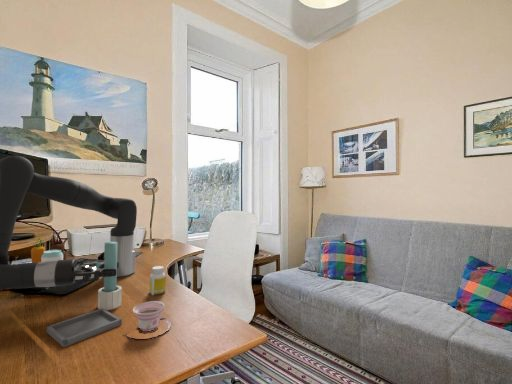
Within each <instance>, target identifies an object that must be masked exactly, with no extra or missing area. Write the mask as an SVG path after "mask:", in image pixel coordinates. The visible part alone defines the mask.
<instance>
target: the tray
mask: <svg viewBox="0 0 512 384" xmlns="http://www.w3.org/2000/svg"><path fill="white" fill-rule="evenodd" d="M122 320H123V319H122V318H120V317H119V316H117V315H115V314H113V313H112V312H109V310H105V309H103V308H102V309H96V310H93V311H89V312H87V313H84V314H81V315H80V314H79V315H78V316H75V317H74V316H73V317H71V318H69V319H65V320H63V321H59V322H56V323H54V324H50V325H47V326H46V327H45V329H46V331H45V332H46V334H48V335H49V337H51V338H52V339H53V340H54V341H56V342H57V343H58V344H59V345H60V346H61V347H62V348H66V347H68V346H70V345H73V344H75V343H79V342H81V341H83V340H86V339H88V338H90V337H91V338H92V337H94V336H96V335H99V334H100V333H103V332H105V331H106V332H107V331H109V330H111V329H114V328H115V327H116V328H117V327H118V326H121V325H123V324H122V323H123V321H122Z"/></svg>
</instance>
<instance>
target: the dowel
mask: <svg viewBox="0 0 512 384" xmlns="http://www.w3.org/2000/svg"><path fill="white" fill-rule="evenodd" d="M103 248H104V253H103V255H104V257H103V260H104V269H113V268H116V269H117V242H110V241H107V242H104V247H103ZM117 278H118V277H117V273H116V276H110V277H103V287H104V292H112V291H116V289H117V286H118V285H117V284H118V283H117V281H118V280H117Z"/></svg>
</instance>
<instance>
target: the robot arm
mask: <svg viewBox="0 0 512 384" xmlns="http://www.w3.org/2000/svg"><path fill="white" fill-rule="evenodd" d="M26 194H31V195H35V196H38V197H41V198H44V199H46V200H47V199H48V200H51V201H54V202H57V203H60V204H63V205H66V206H71V207H74V208H79V209H82V210H83V209H84V210H89V211H95V212H97V213H100V214H102V215H105V216H107V217H110V218H112V219H114V220H115V219H116V220H117V221H116V222H117V223H116V225H115V227H112V228H111V229H110V237H109V238H110V241H109V242H117V269H116V268H113V269H104V259H102V260H88V261H84V262H83V264H78V263H77V259H74V258H72V259H68V258H67V260H53V261H44V262H35V263H32V262H25V263H16V264H15V263H14V264H9V249H10V246H11V242H12V237H13V233H14V228H15V225H16V222H17V218H18V214H19V212H20V209H21V206H22V203H23V202H24V198H25V196H26ZM137 208H138V207H137V204H136V202H135V200H133V199H131V198H123V197H113V196H109V195H105V194H102V193H100V192H98V191H97V190H96V189H94V188H93V187H92V186H89V185H87V184H85V183H82V182H80V181H77V180H74V179H69V178H66V177H58V176H52V175H51V176H50V175H44V174H40V173H37V172H35V168H34V165H33V163H32V162H31V161H30V160H29V159H27V158H26V157H24V156H20V155H10V156H5V157H3V158H0V290H7V289H29V288H30V289H31V288H51V287H62V286H72V285H74V284H75V283H82V282H83V283H84V282H85V283H86V282H94V281H99V280H100V279H103V278H104V277H110V276H116V273H117V278H119V277H120V278H121V277H127V276H129V275H132V274H133V273H136V251H135V250H134V239H135V238H134V232H135V229H136V226H137V215H138V214H137V211H138V210H137Z"/></svg>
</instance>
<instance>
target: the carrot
mask: <svg viewBox="0 0 512 384" xmlns="http://www.w3.org/2000/svg"><path fill="white" fill-rule="evenodd" d="M39 240H40V243H39V244H36V245H35V246H34V247H32V248H31V250H30V257H31V263H35V262H41V256H42V255H43V254H44V251H47V250H46V247H45V246H42V243H43V239H42V238H41V237H38V239H37V240H36V239H35V241H37V242H38V241H39Z"/></svg>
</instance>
